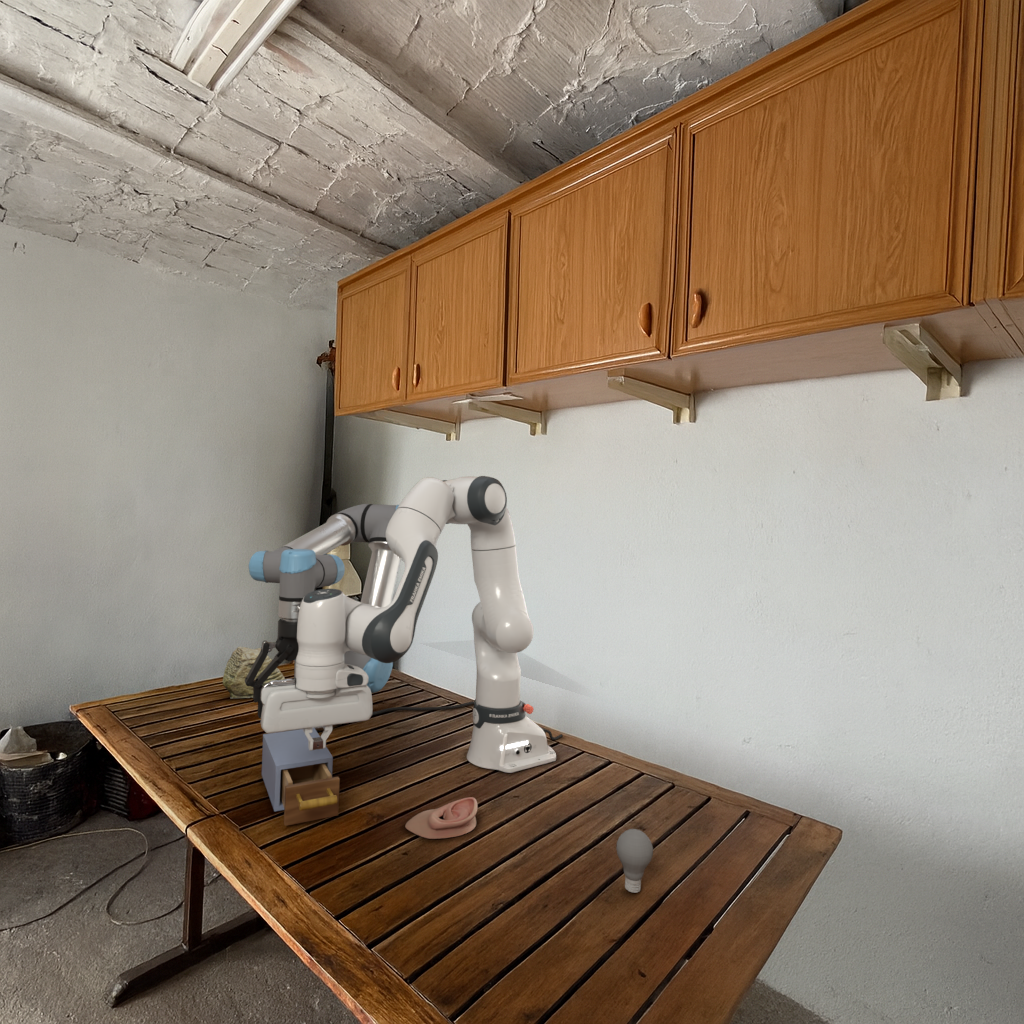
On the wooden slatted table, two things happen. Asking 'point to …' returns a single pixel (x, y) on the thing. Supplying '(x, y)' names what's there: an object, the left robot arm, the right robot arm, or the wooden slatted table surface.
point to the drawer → (308, 793)
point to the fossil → (245, 672)
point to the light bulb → (634, 857)
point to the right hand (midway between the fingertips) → (316, 748)
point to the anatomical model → (445, 820)
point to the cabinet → (288, 759)
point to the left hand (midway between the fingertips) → (292, 712)
